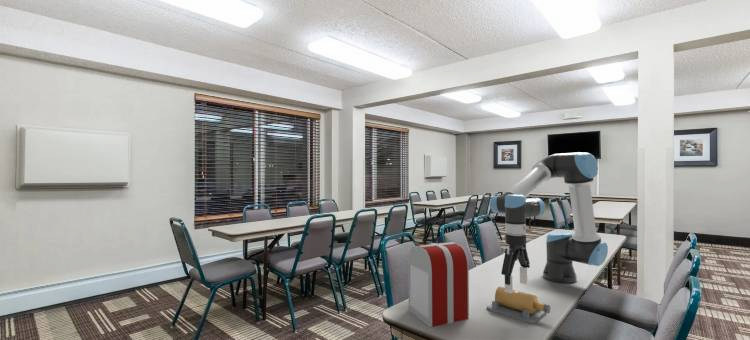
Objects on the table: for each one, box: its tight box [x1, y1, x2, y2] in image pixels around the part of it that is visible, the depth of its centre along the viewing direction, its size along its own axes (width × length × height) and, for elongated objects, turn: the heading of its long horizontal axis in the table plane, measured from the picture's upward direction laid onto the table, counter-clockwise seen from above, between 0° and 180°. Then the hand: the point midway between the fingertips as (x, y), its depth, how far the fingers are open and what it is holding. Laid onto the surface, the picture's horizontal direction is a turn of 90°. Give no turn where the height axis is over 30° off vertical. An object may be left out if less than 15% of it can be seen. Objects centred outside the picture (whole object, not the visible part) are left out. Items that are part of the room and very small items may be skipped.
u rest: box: [486, 300, 548, 325], centre depth 131 cm, size 18×13×4 cm
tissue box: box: [407, 241, 470, 328], centre depth 129 cm, size 16×18×27 cm
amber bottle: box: [494, 286, 552, 315], centre depth 129 cm, size 19×7×7 cm, turn 43°
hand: (516, 287), depth 132 cm, fingers open, 13 cm apart
